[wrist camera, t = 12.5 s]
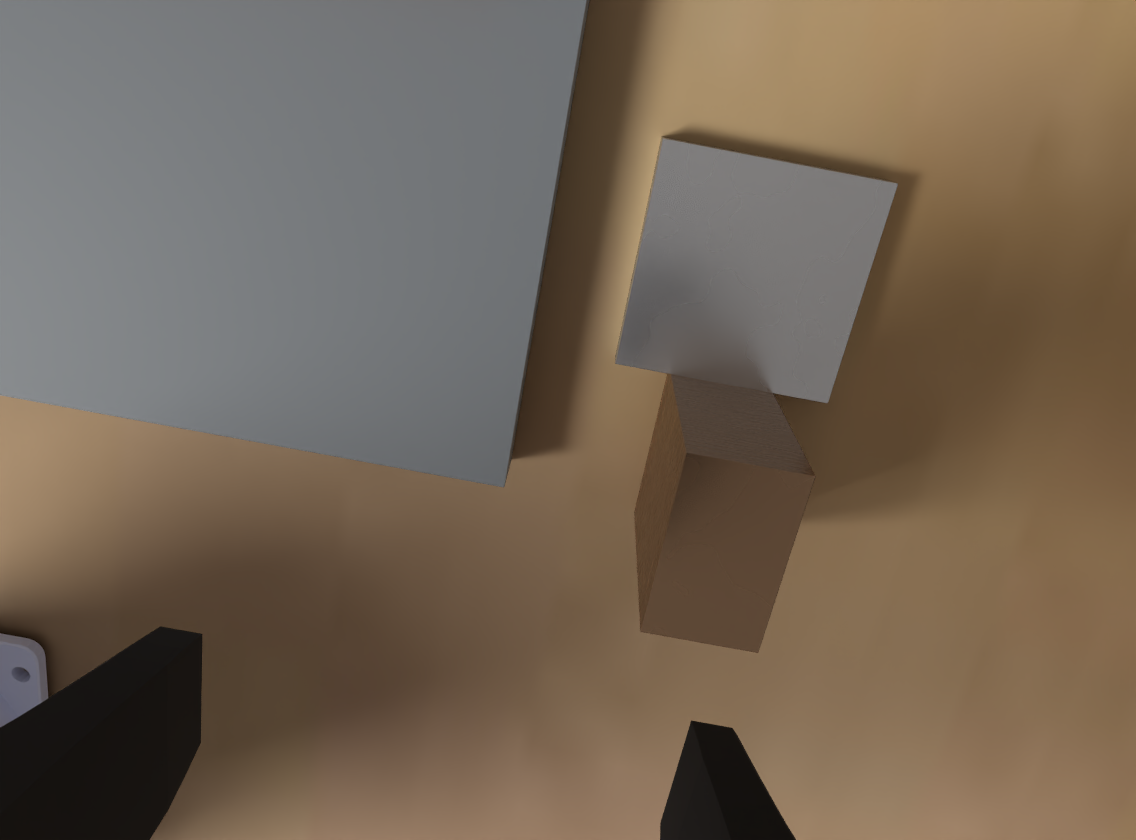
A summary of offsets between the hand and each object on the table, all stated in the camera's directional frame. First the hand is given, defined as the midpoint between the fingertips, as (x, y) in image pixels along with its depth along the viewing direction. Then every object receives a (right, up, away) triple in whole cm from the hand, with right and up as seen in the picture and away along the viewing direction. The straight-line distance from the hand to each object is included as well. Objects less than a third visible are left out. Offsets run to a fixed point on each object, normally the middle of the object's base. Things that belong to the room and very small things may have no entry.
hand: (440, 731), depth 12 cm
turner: (+5, +6, +8) cm, 11 cm away
